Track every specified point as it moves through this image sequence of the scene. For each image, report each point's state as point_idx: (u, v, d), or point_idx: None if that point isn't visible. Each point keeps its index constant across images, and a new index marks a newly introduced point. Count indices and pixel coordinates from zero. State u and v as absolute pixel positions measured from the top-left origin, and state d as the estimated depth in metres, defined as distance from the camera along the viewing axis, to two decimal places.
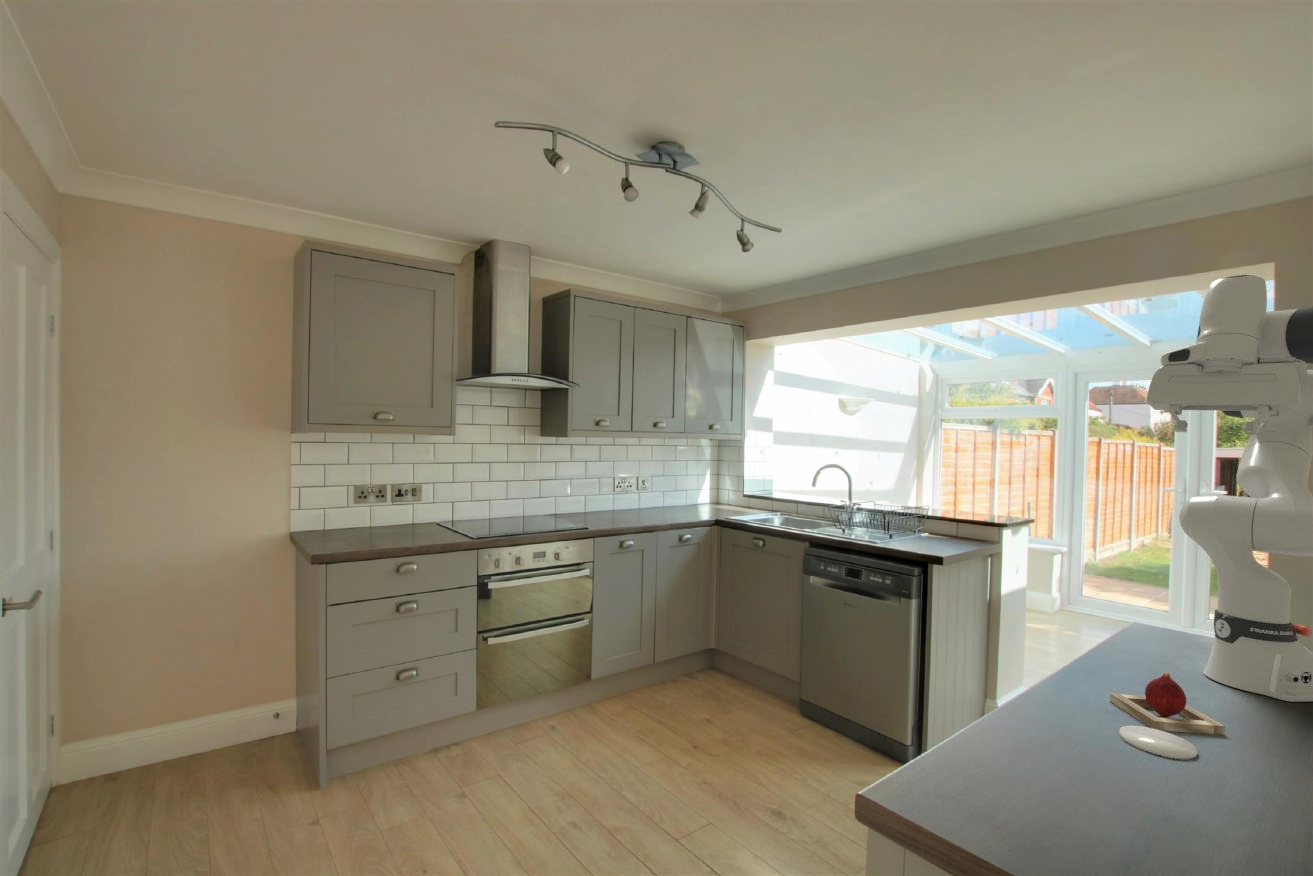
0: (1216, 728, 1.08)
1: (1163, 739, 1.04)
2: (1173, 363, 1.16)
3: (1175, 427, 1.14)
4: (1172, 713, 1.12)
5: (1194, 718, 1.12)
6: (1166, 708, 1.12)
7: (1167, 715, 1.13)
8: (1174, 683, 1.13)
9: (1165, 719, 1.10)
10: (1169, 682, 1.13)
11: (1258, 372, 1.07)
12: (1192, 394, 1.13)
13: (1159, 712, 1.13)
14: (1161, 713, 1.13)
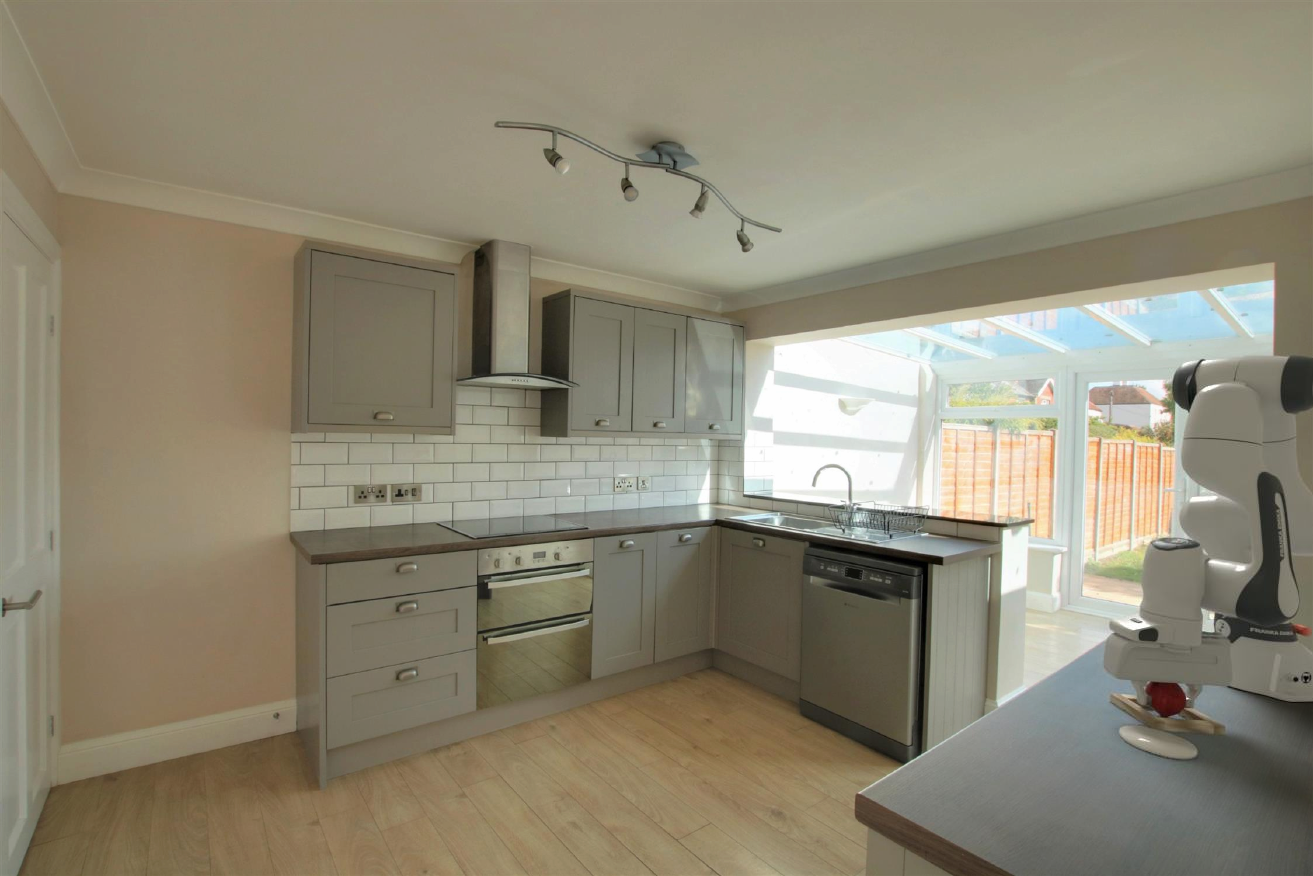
0: (1216, 728, 1.08)
1: (1163, 739, 1.04)
2: (1142, 641, 1.11)
3: (1144, 703, 1.13)
4: (1172, 713, 1.12)
5: (1194, 718, 1.12)
6: (1166, 708, 1.12)
7: (1167, 715, 1.13)
8: (1174, 683, 1.13)
9: (1165, 719, 1.10)
10: None
11: (1204, 654, 1.12)
12: (1154, 672, 1.12)
13: (1159, 712, 1.13)
14: (1161, 713, 1.13)
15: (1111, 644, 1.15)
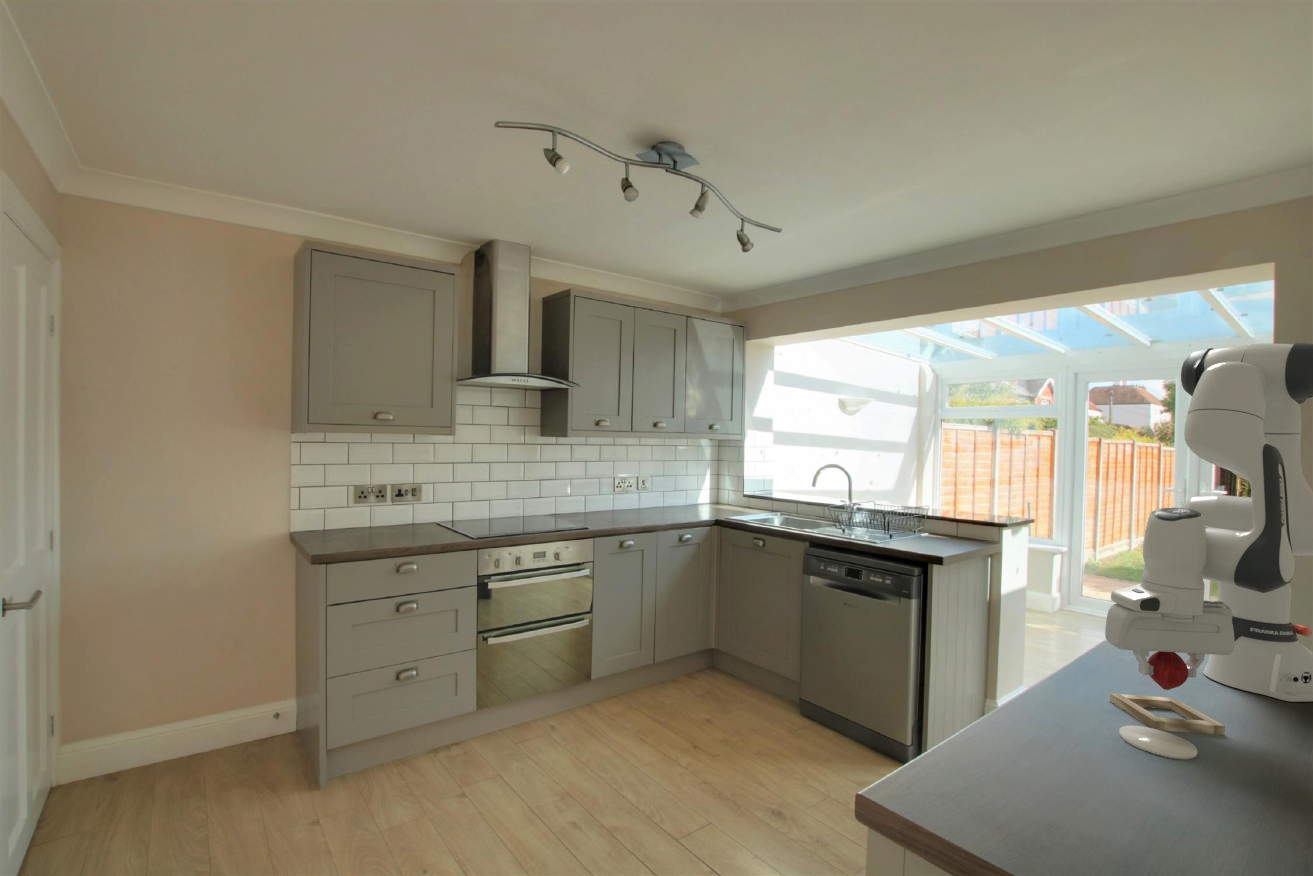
0: (1216, 728, 1.08)
1: (1163, 739, 1.04)
2: (1143, 611, 1.12)
3: (1146, 673, 1.14)
4: (1174, 685, 1.12)
5: (1194, 718, 1.12)
6: (1169, 680, 1.12)
7: (1169, 687, 1.13)
8: (1176, 655, 1.13)
9: (1165, 719, 1.10)
10: (1171, 655, 1.13)
11: (1206, 623, 1.12)
12: (1156, 642, 1.13)
13: (1161, 684, 1.14)
14: (1163, 686, 1.14)
15: (1112, 615, 1.15)
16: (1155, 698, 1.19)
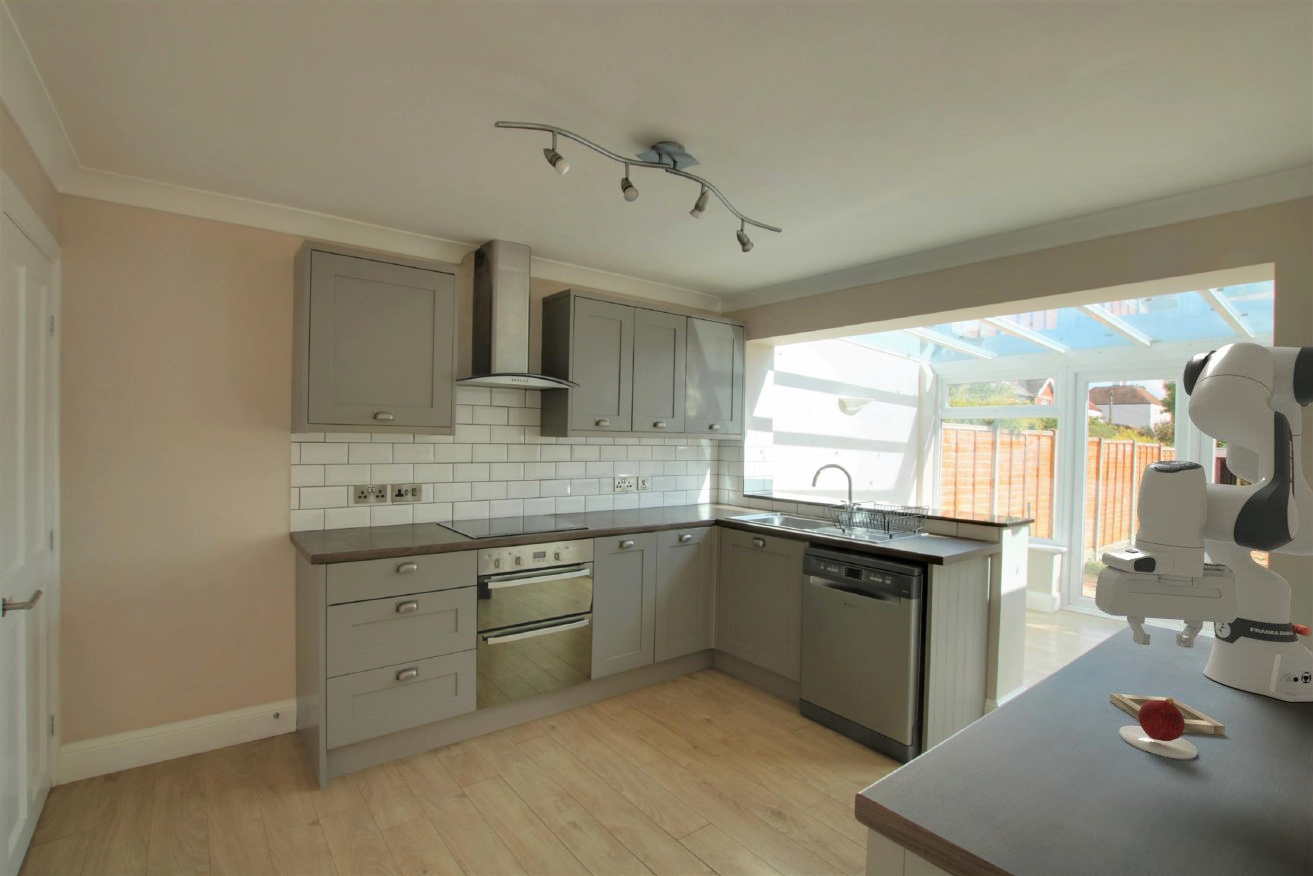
0: (1216, 728, 1.08)
1: None
2: (1138, 572, 1.01)
3: (1141, 642, 1.03)
4: (1165, 740, 1.01)
5: (1194, 718, 1.12)
6: (1162, 737, 1.00)
7: None
8: (1177, 711, 1.00)
9: None
10: (1172, 711, 1.00)
11: (1206, 586, 1.01)
12: (1151, 607, 1.02)
13: (1150, 736, 1.02)
14: (1152, 737, 1.02)
15: (1103, 578, 1.04)
16: (1155, 698, 1.19)
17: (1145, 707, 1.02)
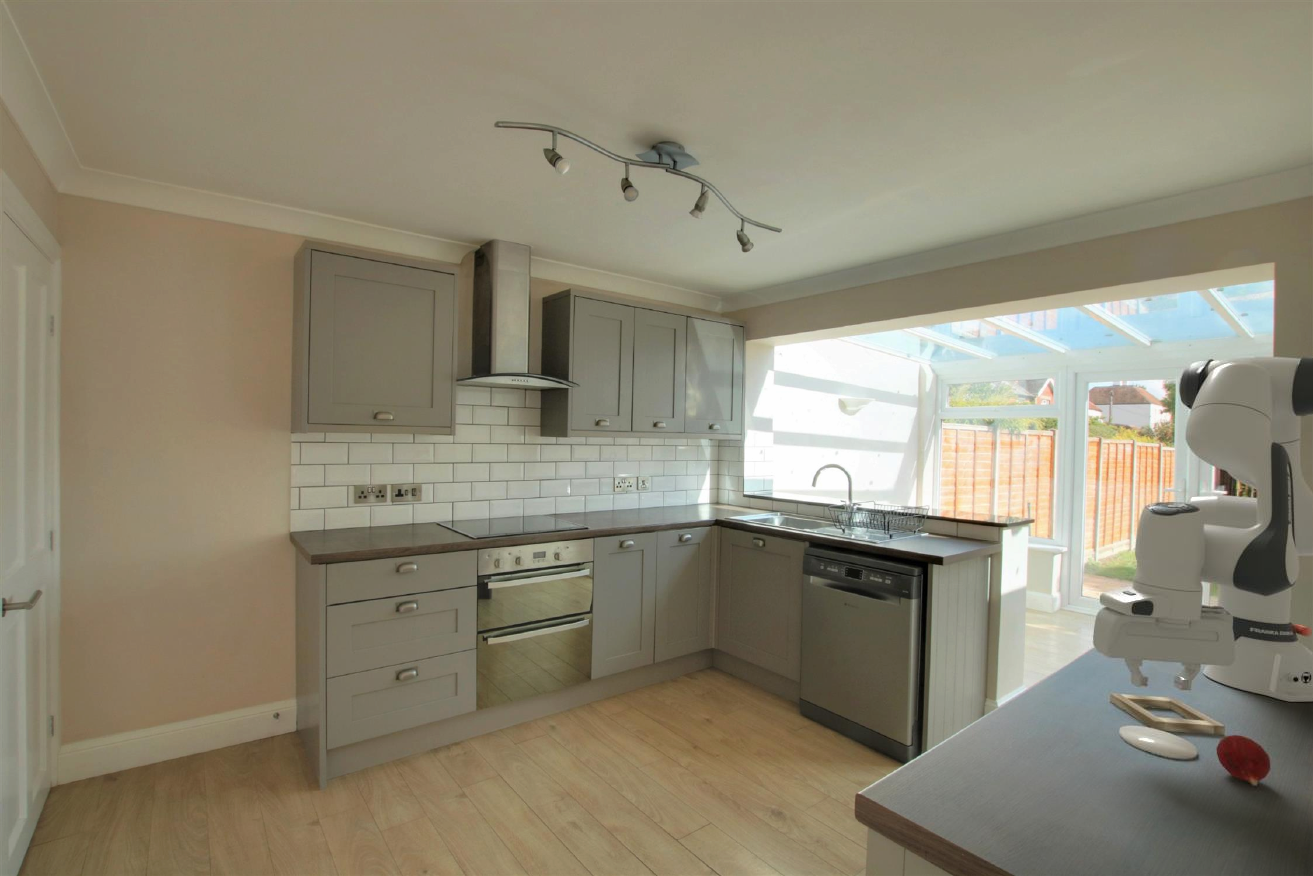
0: (1216, 728, 1.08)
1: (1163, 739, 1.04)
2: (1135, 615, 1.01)
3: (1139, 685, 1.03)
4: (1223, 738, 0.96)
5: (1194, 718, 1.12)
6: (1229, 738, 0.94)
7: None
8: (1238, 772, 0.92)
9: (1165, 719, 1.10)
10: (1242, 770, 0.91)
11: (1204, 629, 1.01)
12: (1149, 650, 1.02)
13: (1238, 735, 0.95)
14: (1235, 735, 0.95)
15: (1101, 620, 1.04)
16: (1155, 698, 1.19)
17: (1266, 761, 0.91)
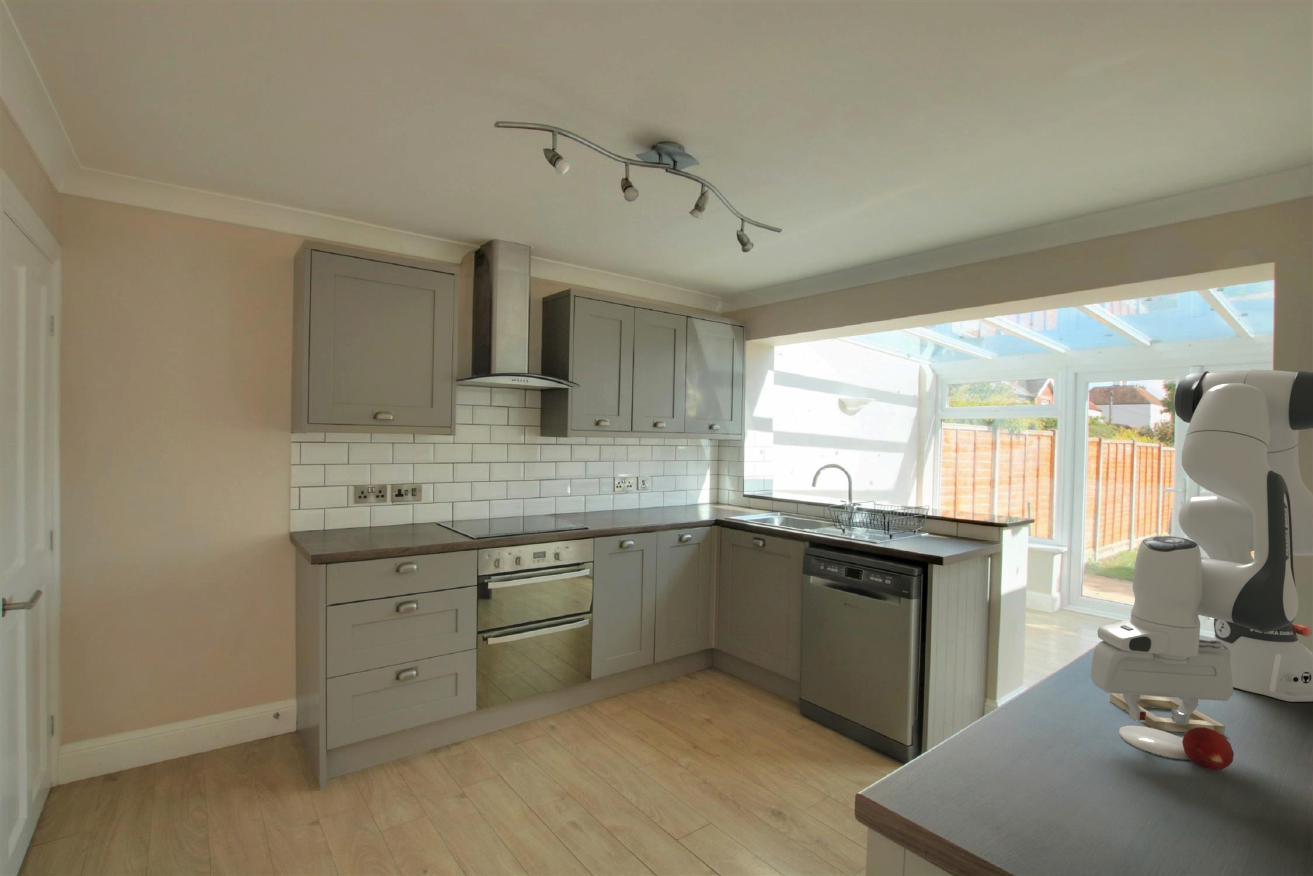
0: (1216, 728, 1.08)
1: (1163, 739, 1.04)
2: (1133, 651, 1.01)
3: (1137, 719, 1.03)
4: None
5: (1194, 718, 1.12)
6: None
7: None
8: (1210, 764, 0.94)
9: (1165, 719, 1.10)
10: (1204, 759, 0.94)
11: (1201, 664, 1.01)
12: (1146, 685, 1.02)
13: None
14: None
15: (1099, 654, 1.05)
16: (1155, 698, 1.19)
17: (1203, 735, 0.96)
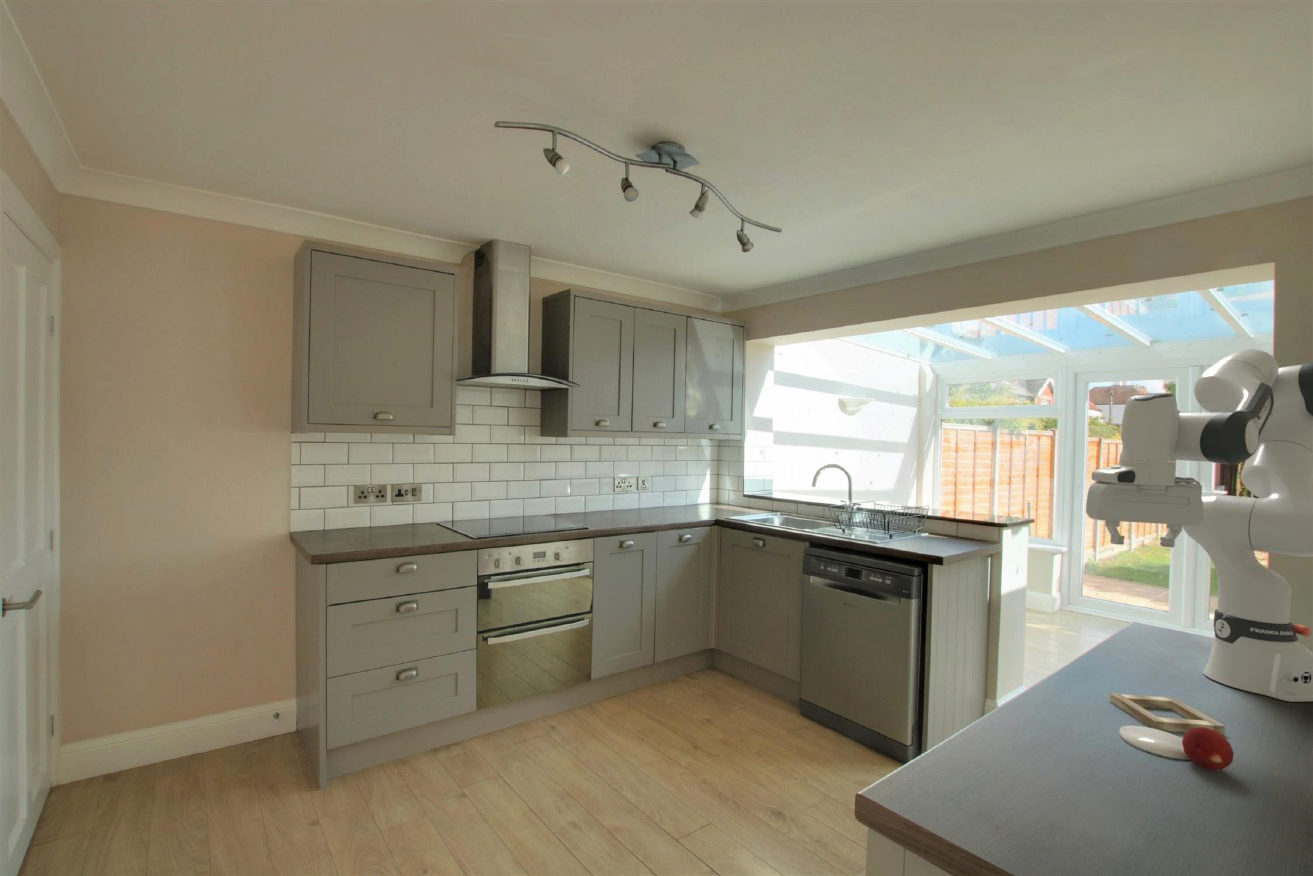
0: (1216, 728, 1.08)
1: (1163, 739, 1.04)
2: (1120, 483, 1.22)
3: (1117, 542, 1.24)
4: None
5: (1194, 718, 1.12)
6: None
7: None
8: (1209, 764, 0.94)
9: (1165, 719, 1.10)
10: (1204, 759, 0.94)
11: (1177, 495, 1.22)
12: (1132, 513, 1.23)
13: None
14: None
15: (1092, 491, 1.26)
16: (1155, 698, 1.19)
17: (1203, 735, 0.96)
